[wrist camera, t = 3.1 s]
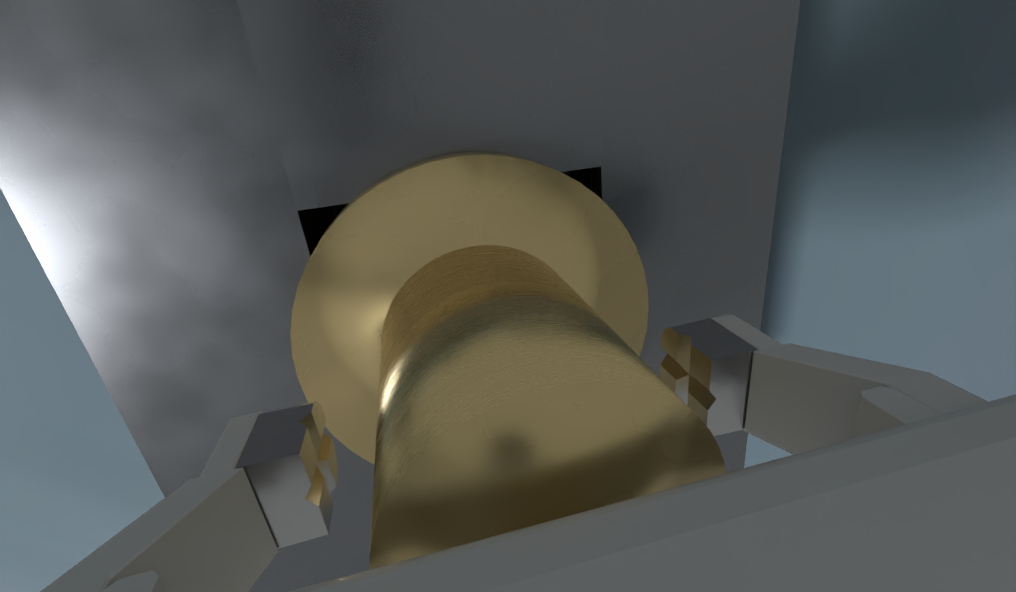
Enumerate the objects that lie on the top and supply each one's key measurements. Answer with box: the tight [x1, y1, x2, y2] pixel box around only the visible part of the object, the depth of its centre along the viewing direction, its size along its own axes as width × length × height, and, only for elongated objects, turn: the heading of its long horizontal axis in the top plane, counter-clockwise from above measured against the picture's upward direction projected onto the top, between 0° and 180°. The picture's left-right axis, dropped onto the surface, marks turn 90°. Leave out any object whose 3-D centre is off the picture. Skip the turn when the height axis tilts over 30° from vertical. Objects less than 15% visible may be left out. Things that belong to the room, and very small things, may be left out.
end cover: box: [290, 152, 726, 570], centre depth 12 cm, size 9×9×12 cm
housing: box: [0, 0, 801, 592], centre depth 16 cm, size 18×18×7 cm
